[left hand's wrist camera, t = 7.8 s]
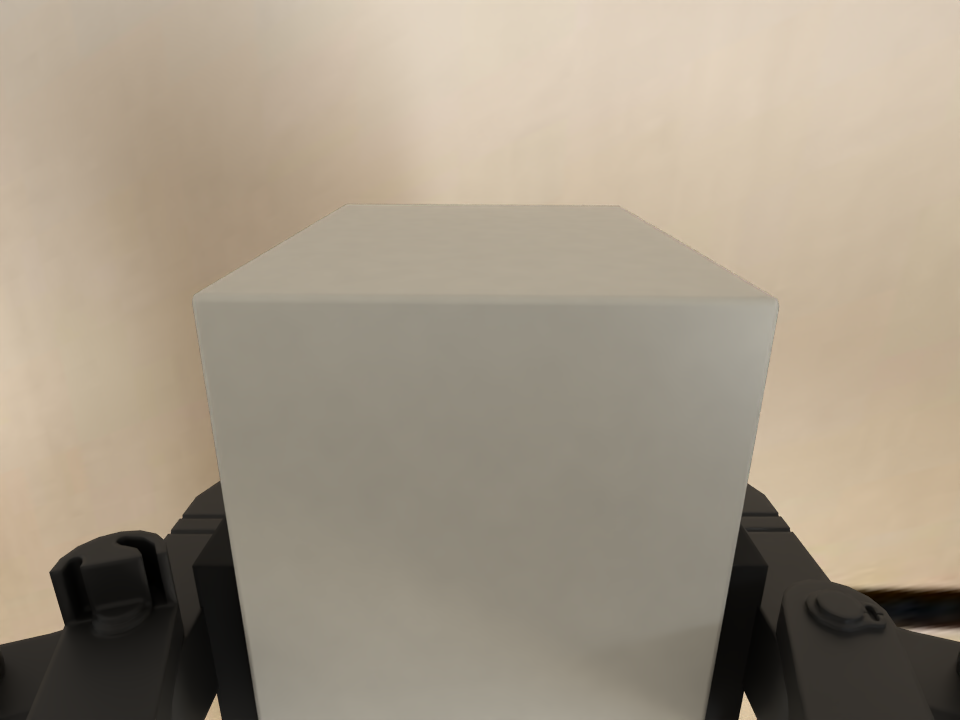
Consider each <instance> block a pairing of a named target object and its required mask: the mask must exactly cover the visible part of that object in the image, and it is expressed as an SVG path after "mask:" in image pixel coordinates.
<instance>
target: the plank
mask: <svg viewBox="0 0 960 720" xmlns="http://www.w3.org/2000/svg"><path fill="white" fill-rule="evenodd" d="M192 305H193V311H194V317H195V323H196V330H197V336H198V342H199V349H200V355H201V361H202V368H203V374H204V380H205V387H206V393H207V399H208V405H209V412H210V418H211V424H212V431H213V437H214V443H215V450H216V456H217V462H218V468H219V475H220V481H221V487H222V494H223V500H224V506H225V513H226V519H227V525H228V532H229V538H230V544H231V550H232V557H233V563H234V569H235V576H236V582H237V588H238V595H239V601H240V607H241V613H242V620H243V626H244V632H245V639H246V645H247V651H248V658H249V664H250V670H251V677H252V683H253V689H254V695H255V702H256V708H257V714H258V720H705V715H706V710H707V704H708V699H709V693H710V688H711V682H712V677H713V671H714V665H715V660H716V654H717V649H718V643H719V638H720V632H721V627H722V621H723V616H724V610H725V604H726V599H727V593H728V588H729V582H730V577H731V571H732V566H733V560H734V554H735V549H736V543H737V538H738V532H739V527H740V521H741V516H742V510H743V505H744V499H745V493H746V488H747V482H748V477H749V471H750V466H751V460H752V455H753V449H754V444H755V438H756V432H757V427H758V421H759V416H760V410H761V405H762V399H763V394H764V388H765V383H766V377H767V371H768V366H769V360H770V355H771V349H772V344H773V338H774V333H775V327H776V322H777V316H778V310H779V303H778V299H777V298H775V297H773V296H772V295H770V294H768V293H767V292H765V291H763V290H762V289H760V288H758V287H756V286H755V285H753V284H751V283H750V282H748V281H746V280H745V279H743V278H741V277H739V276H738V275H736V274H734V273H733V272H731V271H729V270H728V269H726V268H724V267H723V266H721V265H719V264H717V263H716V262H714V261H712V260H711V259H709V258H707V257H706V256H704V255H702V254H700V253H699V252H697V251H695V250H694V249H692V248H690V247H689V246H687V245H685V244H683V243H682V242H680V241H678V240H677V239H675V238H673V237H672V236H670V235H668V234H667V233H665V232H663V231H661V230H660V229H658V228H656V227H655V226H653V225H651V224H650V223H648V222H646V221H644V220H643V219H641V218H639V217H638V216H636V215H634V214H633V213H631V212H629V211H627V210H626V209H624V208H622V207H620V206H572V205H437V204H346V205H344V206H342V207H341V208H339V209H337V210H335V211H334V212H332V213H330V214H329V215H327V216H325V217H324V218H322V219H320V220H319V221H317V222H315V223H314V224H312V225H310V226H309V227H307V228H305V229H304V230H302V231H300V232H298V233H297V234H295V235H293V236H292V237H290V238H288V239H287V240H285V241H283V242H282V243H280V244H278V245H277V246H275V247H273V248H272V249H270V250H268V251H267V252H265V253H263V254H261V255H260V256H258V257H256V258H255V259H253V260H251V261H250V262H248V263H246V264H245V265H243V266H241V267H240V268H238V269H236V270H235V271H233V272H231V273H229V274H228V275H226V276H224V277H223V278H221V279H219V280H218V281H216V282H214V283H213V284H211V285H209V286H208V287H206V288H204V289H203V290H201V291H199V292H198V293H196V294H194V296H193V300H192Z"/></svg>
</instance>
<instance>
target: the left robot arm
mask: <svg viewBox="0 0 960 720" xmlns="http://www.w3.org/2000/svg"><path fill="white" fill-rule="evenodd" d="M49 573H50V576H51V580H52V583H53V587H54V590H55V593H56V597H57V600H58V604H59V607H60V610H61V614H62V617H63V621H64V624H65V626H64V629H63V630H61V631H58V632H54V633H51V634H46V635H42V636H37V637H33V638H29V639H24V640H20V641H15V642H11V643H6V644H2V645H0V720H204V719H205V717H206V715H207V713H208V711H209V709H210V707H211V704H212V702H213V700H214V698H215V696H216V694H217V696H218V701H219V707H220V712H221V717H222V720H258V714H257V708H256V702H255V695H254V689H253V683H252V677H251V670H250V664H249V658H248V651H247V645H246V639H245V632H244V626H243V620H242V613H241V607H240V601H239V595H238V588H237V582H236V576H235V569H234V563H233V557H232V550H231V544H230V538H229V532H228V525H227V519H226V513H225V506H224V500H223V494H222V487H221V481H219V482H218V483H216V484H215V485H213V486H212V487H210V488H209V489H207V490H206V491H204V492H203V493H201V494H200V495H198V496H197V497H196V498H195V499H194V501H193V502H192V503H191V505H190V506H189V507H188V509H187V510H186V511H185V513H184V514H183V518H182V519H179V520H178V522H177V523H176V524H175V526H174V527H173V528H172V530H171V534H168V535H167V536H166V538H165V539H162V538H161V537H160V536H159V535H157V534H155V533H151V532H146V531H141V530H139V531H123V532H117V533H113V534H109V535H106V536H102V537H98V538H96V539H94V540H91V541H89V542H87V543H85V544H83V545H80V546H78V547H76V548H75V549H74V550H72V551H71V552H69V553H68V554H67V555H65V556H64V557H62V558H61V559H60V560H59V561H58V562H57V564H56V565H55V566H54V567H53V569H52V570H51V571H50V572H49ZM744 692H745V694H746V696H747V698H748V700H749V702H750V704H751V707H752V709H753V711H754V713H755V715H756V717H757V720H960V642H957V641H953V640H948V639H944V638H939V637H935V636H930V635H926V634H921V633H917V632H912V631H909V630H905V629H902V628H898V627H896V625H895V624H894V622H893V621H892V619H891V618H890V616H889V615H888V613H887V612H886V611H885V610H884V609H883V608H882V607H881V606H879V605H878V604H877V603H876V602H874V601H873V600H872V599H871V598H869V597H868V596H866V595H864V594H862V593H860V592H858V591H856V590H854V589H852V588H850V587H848V586H844V585H841V584H838V583H834V582H831V581H830V580H829V579H828V577H827V576H826V575H825V573H824V572H823V571H822V569H821V568H820V567H819V565H818V564H817V563H816V562H815V560H814V559H813V558H812V556H811V555H810V554H809V552H808V551H807V550H806V548H805V547H804V546H803V545H802V543H801V542H800V541H799V539H798V538H797V537H796V535H795V534H794V533H793V532H790V528H789V526H788V525H787V524H786V522H785V521H784V520H783V518H782V517H779V516H778V512H777V511H776V509H775V508H774V507H773V505H772V504H771V503H770V501H769V500H768V499H767V497H766V496H765V495H764V494H762V493H761V492H759V491H758V490H756V489H755V488H754V487H752V486H751V485H749V484H748V483H747V488H746V493H745V499H744V505H743V510H742V516H741V521H740V527H739V532H738V538H737V543H736V549H735V554H734V560H733V566H732V571H731V577H730V582H729V588H728V593H727V599H726V604H725V610H724V616H723V621H722V627H721V632H720V638H719V643H718V649H717V654H716V660H715V665H714V671H713V677H712V682H711V688H710V693H709V699H708V704H707V710H706V715H705V720H738V719H739V714H740V709H741V704H742V699H743V694H744Z"/></svg>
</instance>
